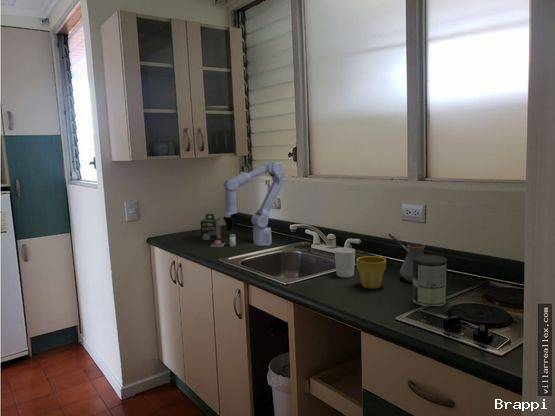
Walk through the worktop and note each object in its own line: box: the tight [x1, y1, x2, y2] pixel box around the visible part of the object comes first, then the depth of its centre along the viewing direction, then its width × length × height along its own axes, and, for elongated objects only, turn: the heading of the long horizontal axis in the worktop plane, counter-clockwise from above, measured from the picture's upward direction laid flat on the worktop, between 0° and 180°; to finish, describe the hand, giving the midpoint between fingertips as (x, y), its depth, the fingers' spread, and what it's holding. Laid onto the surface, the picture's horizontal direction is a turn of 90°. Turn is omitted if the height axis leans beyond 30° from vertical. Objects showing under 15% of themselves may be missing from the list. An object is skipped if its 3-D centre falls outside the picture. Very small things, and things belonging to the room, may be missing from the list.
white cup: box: [334, 247, 356, 278], centre depth 171 cm, size 8×8×10 cm
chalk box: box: [199, 213, 222, 241], centre depth 245 cm, size 9×9×15 cm
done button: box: [214, 239, 222, 245], centre depth 226 cm, size 3×3×2 cm
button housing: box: [210, 242, 226, 248], centre depth 226 cm, size 6×6×2 cm
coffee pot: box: [385, 233, 426, 283], centre depth 166 cm, size 21×12×15 cm, turn 26°
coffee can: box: [412, 254, 448, 307], centre depth 139 cm, size 10×10×14 cm
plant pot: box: [355, 255, 387, 290], centre depth 157 cm, size 10×10×10 cm
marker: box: [228, 233, 237, 247], centre depth 224 cm, size 3×3×7 cm
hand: (231, 229), depth 223 cm, fingers open, 7 cm apart
